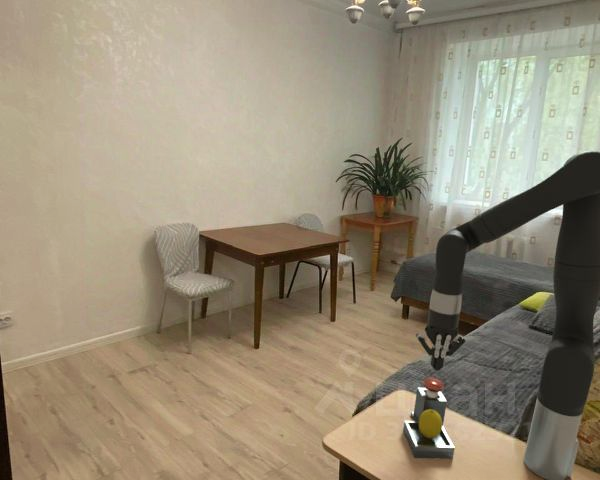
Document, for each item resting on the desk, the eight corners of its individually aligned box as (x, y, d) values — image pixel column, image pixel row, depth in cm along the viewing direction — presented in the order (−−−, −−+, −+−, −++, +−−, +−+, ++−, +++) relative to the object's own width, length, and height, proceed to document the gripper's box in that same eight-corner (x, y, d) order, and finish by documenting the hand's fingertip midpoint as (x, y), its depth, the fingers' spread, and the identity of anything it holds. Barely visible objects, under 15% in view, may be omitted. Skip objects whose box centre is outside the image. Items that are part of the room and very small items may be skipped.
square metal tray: (438, 432, 112) (440, 422, 111) (452, 459, 103) (454, 447, 102) (403, 431, 112) (404, 420, 111) (414, 457, 102) (415, 446, 102)
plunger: (434, 410, 118) (439, 377, 115) (440, 422, 113) (446, 388, 110) (416, 409, 117) (421, 376, 115) (422, 421, 113) (427, 387, 110)
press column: (435, 415, 119) (439, 387, 117) (444, 432, 112) (449, 402, 110) (410, 414, 119) (415, 386, 117) (418, 431, 112) (423, 401, 110)
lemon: (425, 427, 111) (429, 400, 109) (443, 440, 106) (448, 412, 105) (412, 435, 107) (416, 407, 105) (430, 448, 103) (435, 419, 101)
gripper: (463, 303, 112) (454, 362, 116) (415, 301, 111) (407, 360, 115) (476, 314, 105) (466, 377, 109) (424, 312, 104) (416, 375, 108)
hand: (436, 368), depth 112 cm, fingers closed
